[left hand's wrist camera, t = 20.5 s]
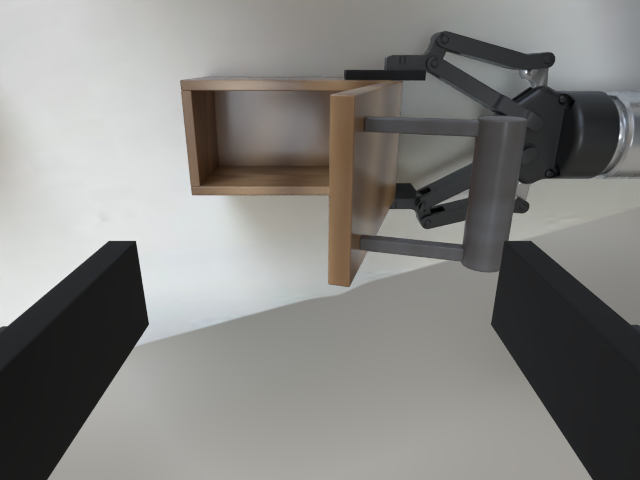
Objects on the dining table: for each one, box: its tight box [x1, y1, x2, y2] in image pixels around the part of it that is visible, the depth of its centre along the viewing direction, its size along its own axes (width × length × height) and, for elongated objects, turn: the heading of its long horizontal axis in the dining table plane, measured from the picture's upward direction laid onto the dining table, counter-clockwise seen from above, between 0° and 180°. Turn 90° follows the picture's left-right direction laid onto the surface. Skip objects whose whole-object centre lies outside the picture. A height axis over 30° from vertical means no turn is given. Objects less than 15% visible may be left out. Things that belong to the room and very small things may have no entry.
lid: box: [328, 81, 528, 287], centre depth 28 cm, size 17×9×9 cm
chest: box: [180, 77, 392, 195], centre depth 42 cm, size 17×9×9 cm, turn 90°
